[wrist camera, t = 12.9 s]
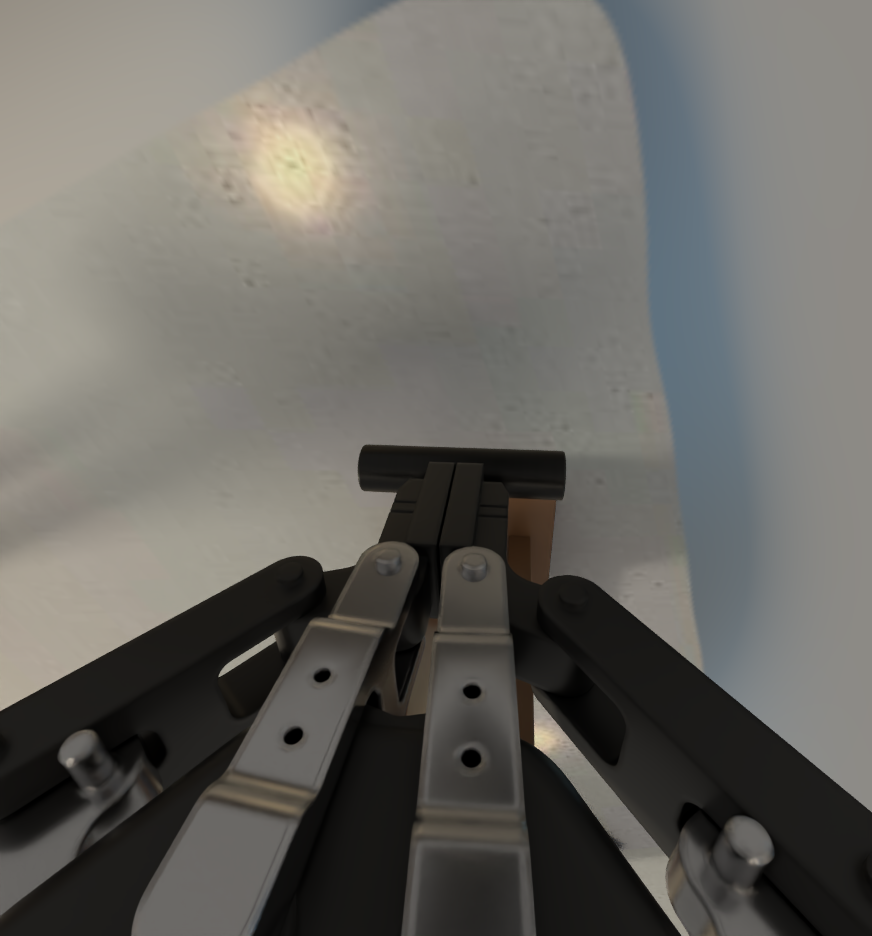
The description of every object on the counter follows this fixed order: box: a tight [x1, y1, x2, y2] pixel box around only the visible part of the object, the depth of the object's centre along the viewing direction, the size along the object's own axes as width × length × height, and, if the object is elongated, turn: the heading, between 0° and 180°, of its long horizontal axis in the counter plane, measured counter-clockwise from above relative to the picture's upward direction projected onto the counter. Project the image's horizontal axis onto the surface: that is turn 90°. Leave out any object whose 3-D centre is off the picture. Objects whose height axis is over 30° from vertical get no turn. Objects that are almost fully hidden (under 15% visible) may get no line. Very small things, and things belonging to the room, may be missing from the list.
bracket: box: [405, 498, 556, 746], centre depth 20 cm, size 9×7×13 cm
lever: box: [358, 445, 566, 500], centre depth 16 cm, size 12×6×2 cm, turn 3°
